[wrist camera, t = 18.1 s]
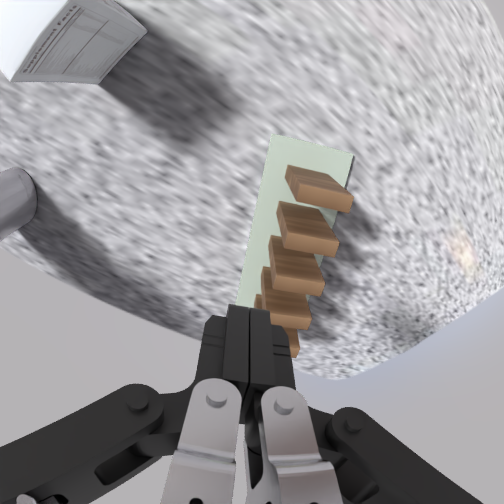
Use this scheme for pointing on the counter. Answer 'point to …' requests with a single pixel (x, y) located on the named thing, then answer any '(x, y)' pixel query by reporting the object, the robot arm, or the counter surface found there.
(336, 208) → the domino
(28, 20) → the supplement box
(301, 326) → the domino
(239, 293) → the mat
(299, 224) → the domino
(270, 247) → the domino
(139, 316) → the counter surface
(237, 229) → the counter surface
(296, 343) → the domino
